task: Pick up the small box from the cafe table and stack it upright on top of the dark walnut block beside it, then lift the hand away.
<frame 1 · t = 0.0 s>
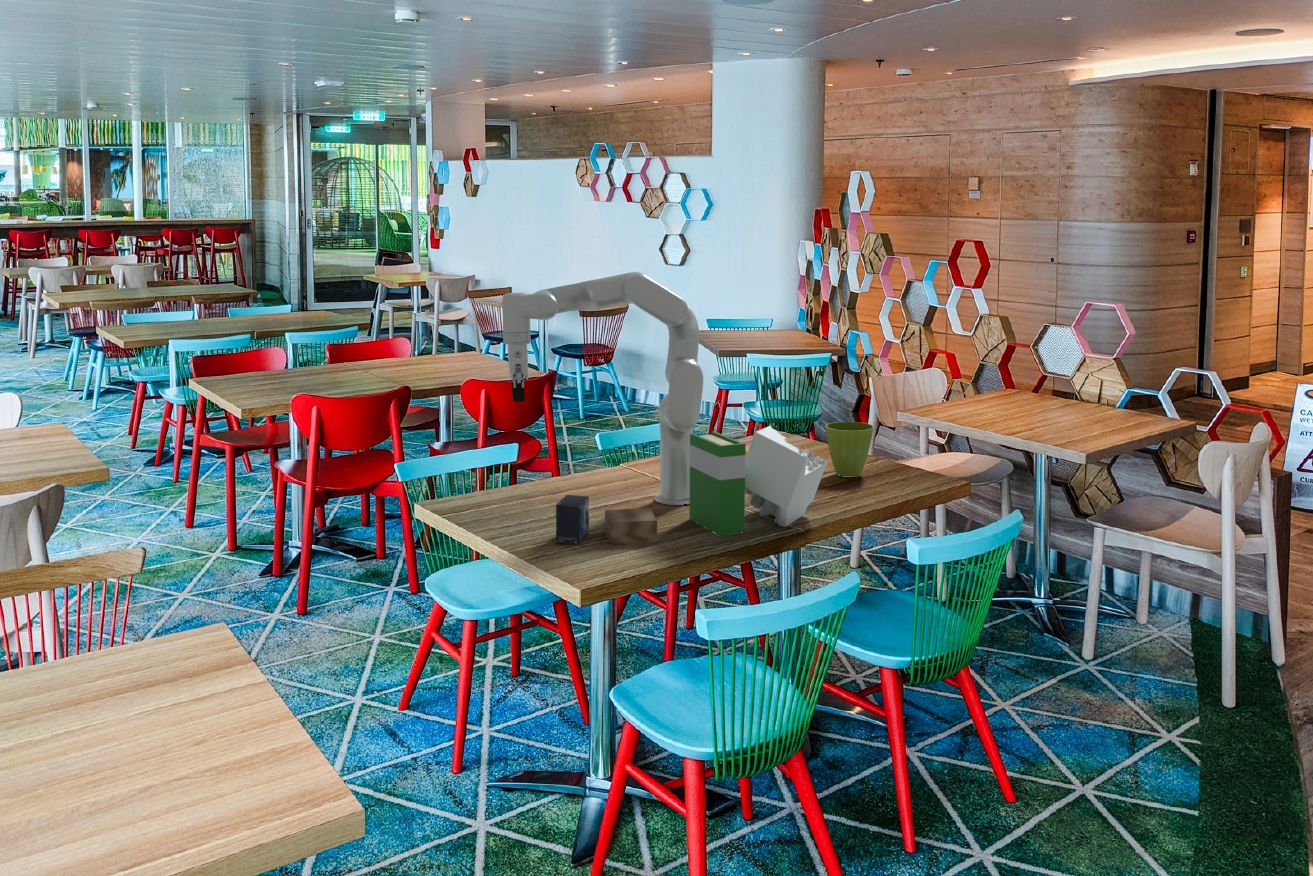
hand: (518, 398, 324), 31 cm above the table, tool pointing down, fingers open, 9 cm apart
hardback book: (716, 526, 311), on the table
walnut block: (630, 537, 301), on the table
white toy brick: (782, 520, 316), on the table
flower pot: (847, 476, 367), on the table
teapot: (769, 487, 353), on the table
small box: (573, 539, 299), on the table
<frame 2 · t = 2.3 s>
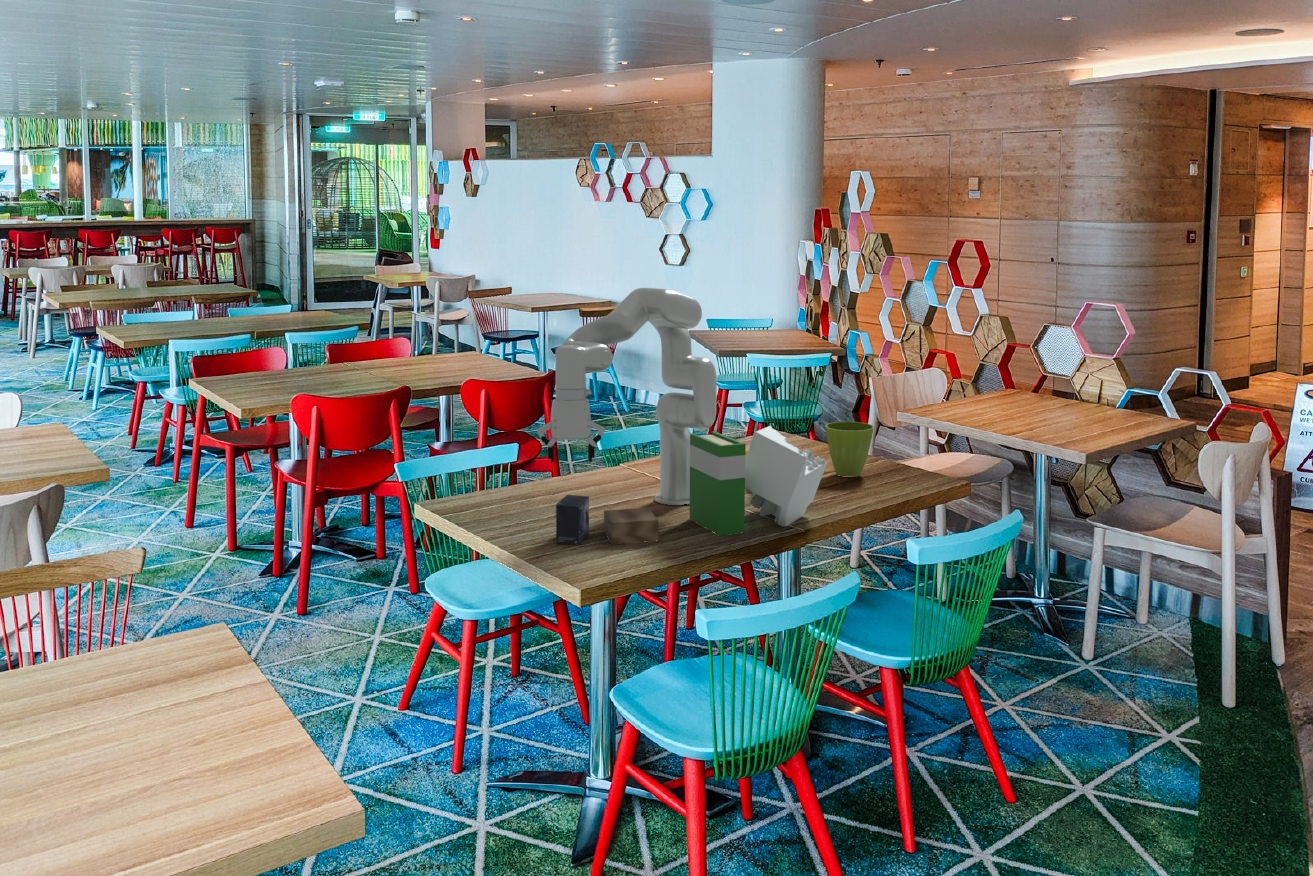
hand: (571, 461, 294), 21 cm above the table, tool pointing down, fingers open, 9 cm apart
nothing on the table moved.
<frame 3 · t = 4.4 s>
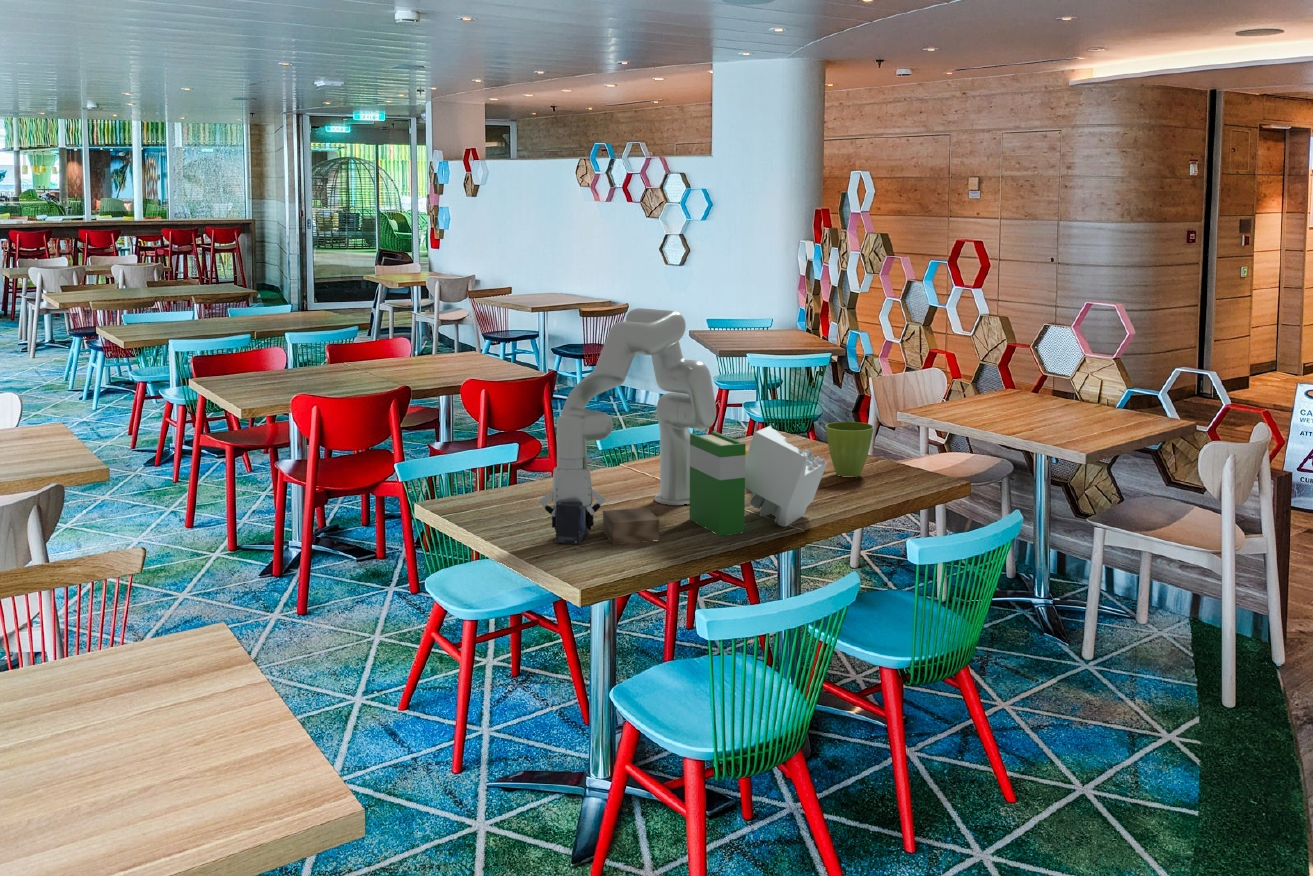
hand: (572, 529, 298), 3 cm above the table, tool pointing down, fingers closed on small box, 8 cm apart
small box: (572, 539, 299), on the table, touching gripper
everything else where it was.
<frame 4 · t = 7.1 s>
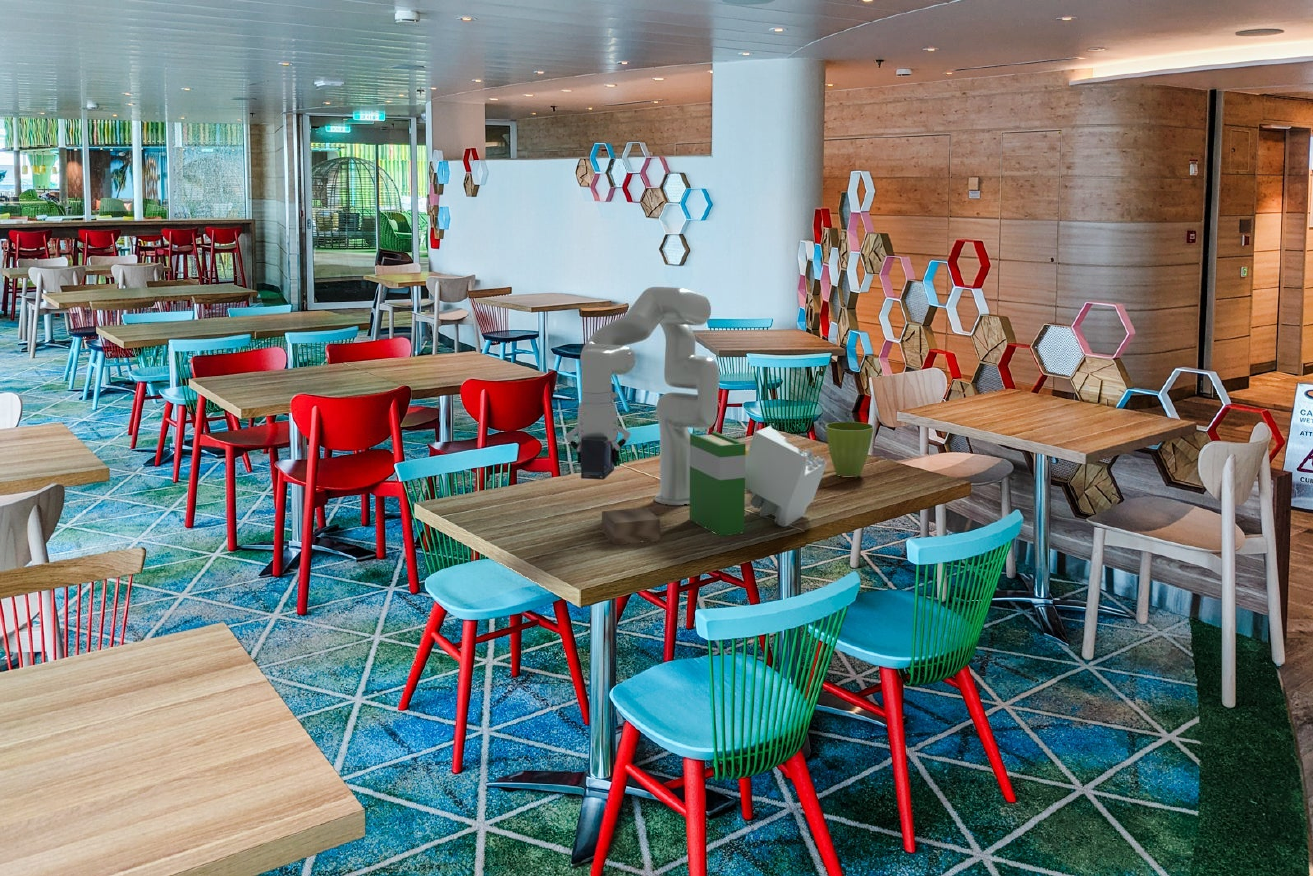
hand: (598, 464, 296), 19 cm above the table, tool pointing down, fingers closed on small box, 8 cm apart
small box: (598, 475, 297), point 16 cm above the table, touching gripper
everything else where it was.
when the fingers open (10 cm above the table, at t = 10.1 s): small box drops 2 cm, point 5 cm above the table.
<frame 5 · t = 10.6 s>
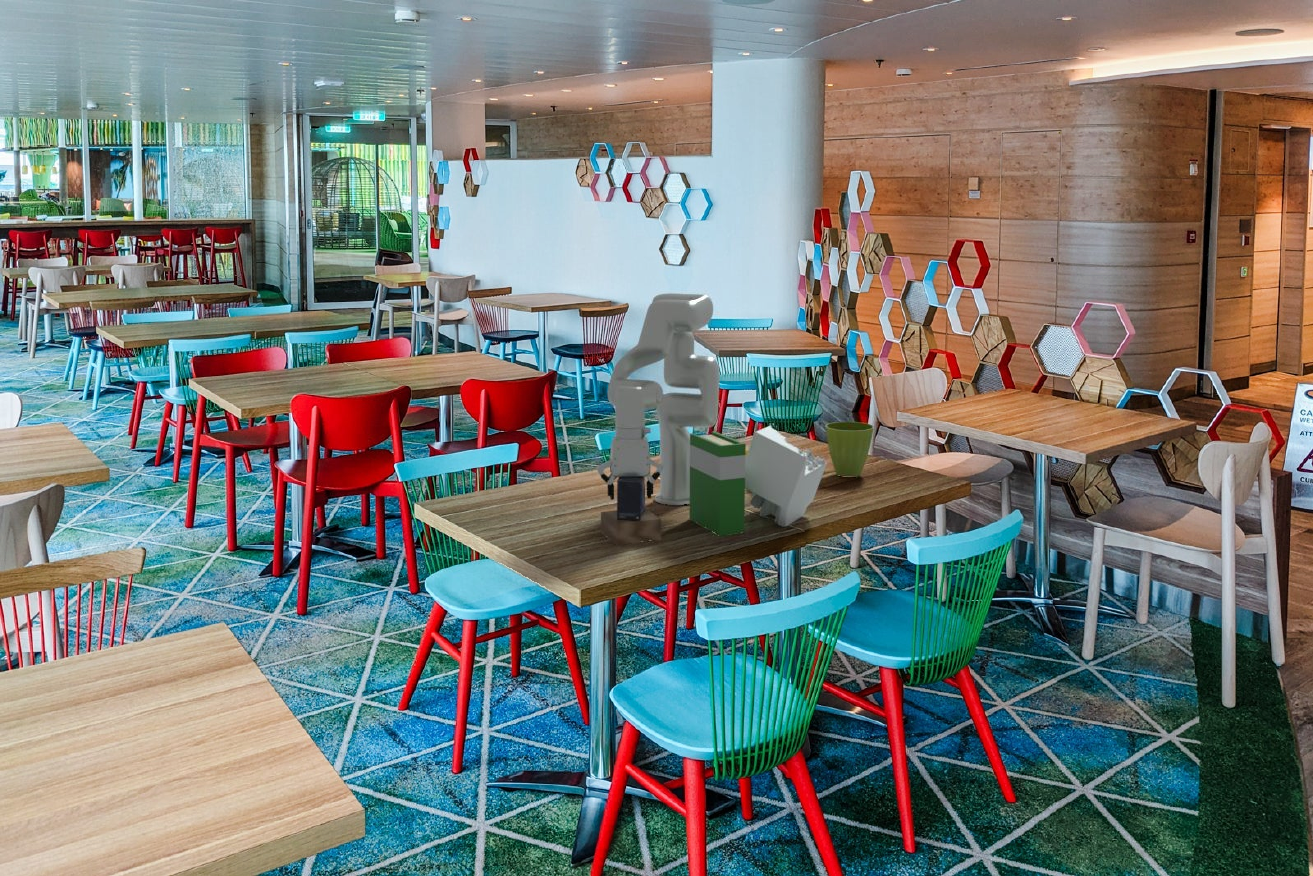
hand: (630, 497, 299), 10 cm above the table, tool pointing down, fingers open, 9 cm apart
small box: (631, 515, 300), point 5 cm above the table
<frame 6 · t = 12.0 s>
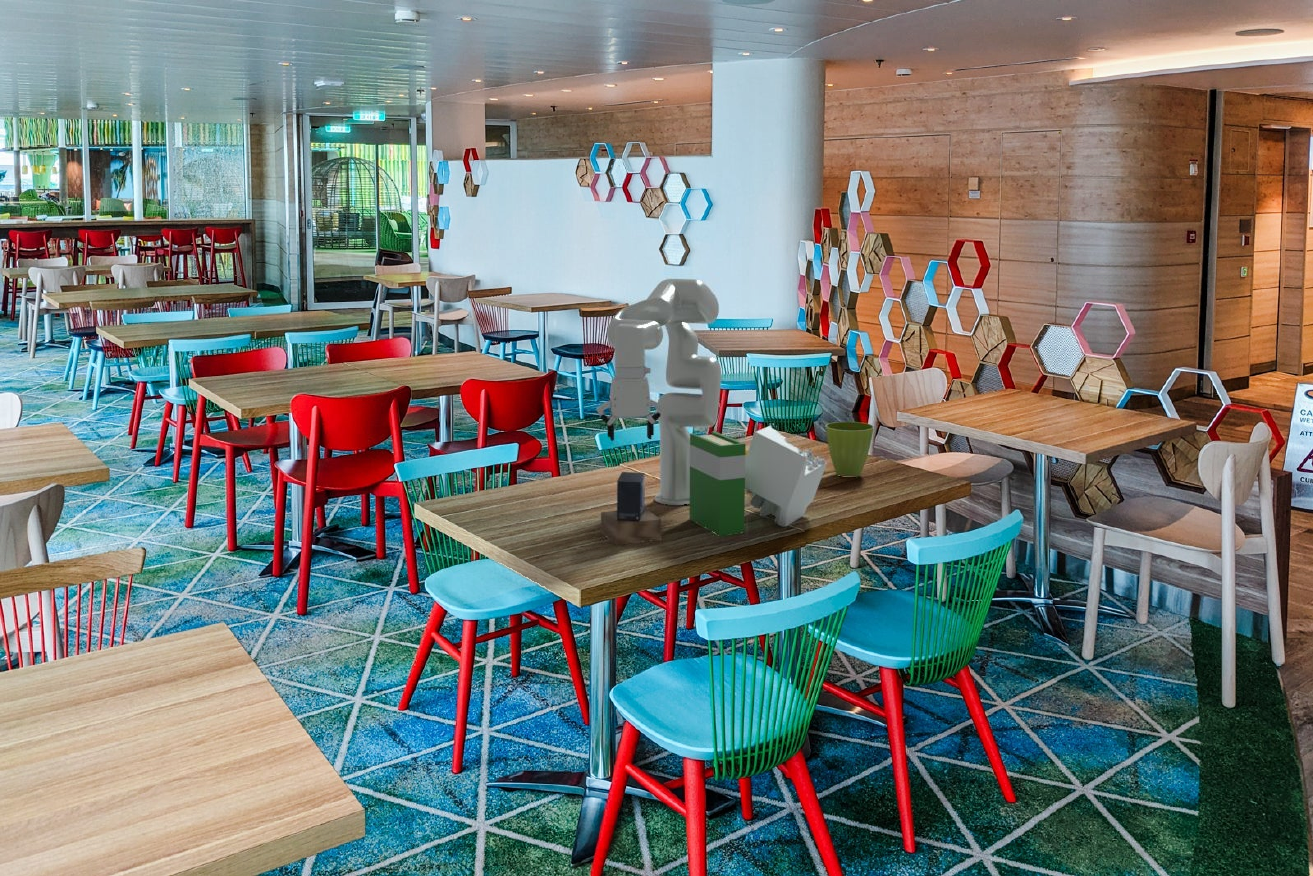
hand: (630, 438, 296), 26 cm above the table, tool pointing down, fingers open, 9 cm apart
walnut block: (630, 538, 301), on the table, touching small box
small box: (631, 516, 300), point 5 cm above the table, touching walnut block
everything else where it was.
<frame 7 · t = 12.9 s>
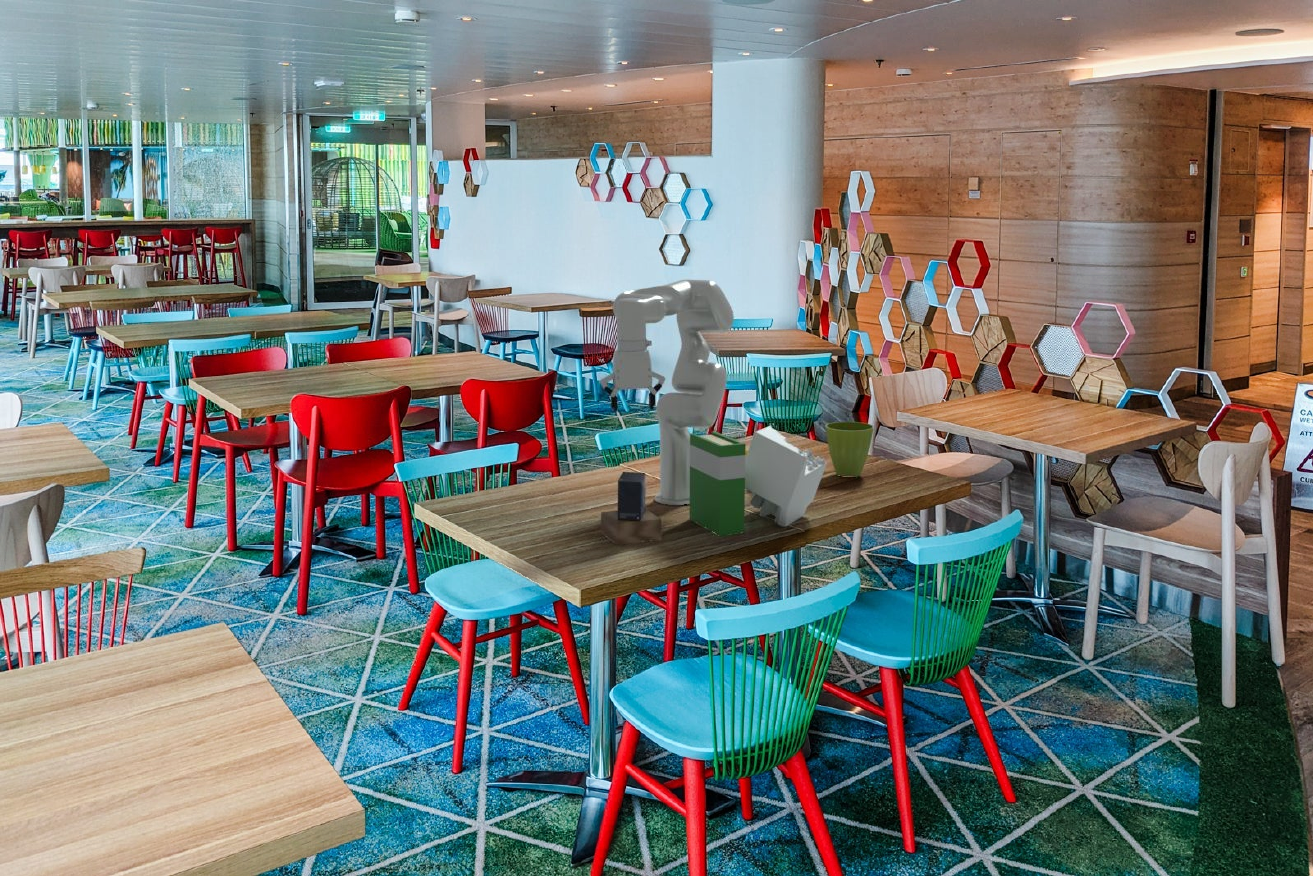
hand: (633, 409, 307), 31 cm above the table, tool pointing down, fingers open, 9 cm apart
walnut block: (631, 537, 301), on the table
small box: (631, 516, 300), point 5 cm above the table
everything else where it was.
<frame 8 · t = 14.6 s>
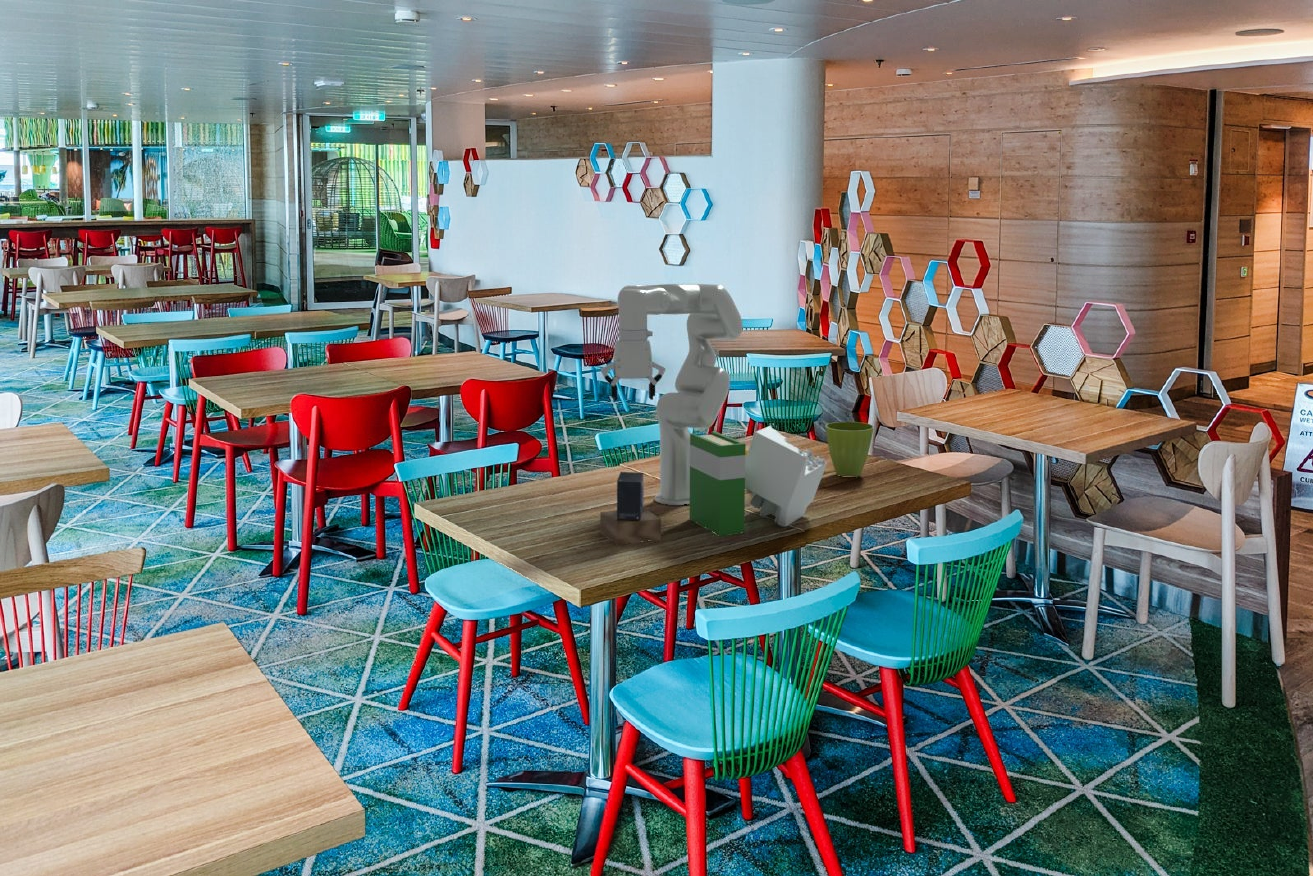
hand: (633, 399, 310), 33 cm above the table, tool pointing down, fingers open, 9 cm apart
walnut block: (630, 537, 301), on the table, touching small box
small box: (630, 516, 300), point 5 cm above the table, touching walnut block
everything else where it was.
at the end: small box inside the target area on the walnut block (0.1 cm from its centre), point 5.8 cm above the walnut block's base; small box tilted 0°; the gripper is holding nothing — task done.
